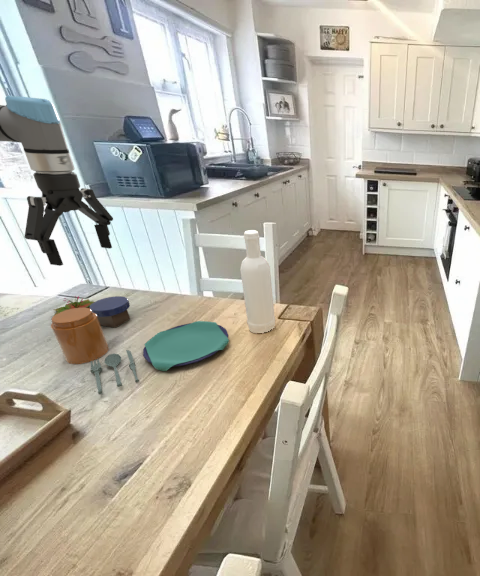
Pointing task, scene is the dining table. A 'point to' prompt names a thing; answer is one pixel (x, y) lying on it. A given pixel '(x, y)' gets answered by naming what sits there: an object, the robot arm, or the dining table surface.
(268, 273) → the bottle
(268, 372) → the dining table surface
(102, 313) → the lid
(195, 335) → the cutlery set
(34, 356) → the dining table surface
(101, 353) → the jar
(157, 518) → the dining table surface
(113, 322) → the dark brown block
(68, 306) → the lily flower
